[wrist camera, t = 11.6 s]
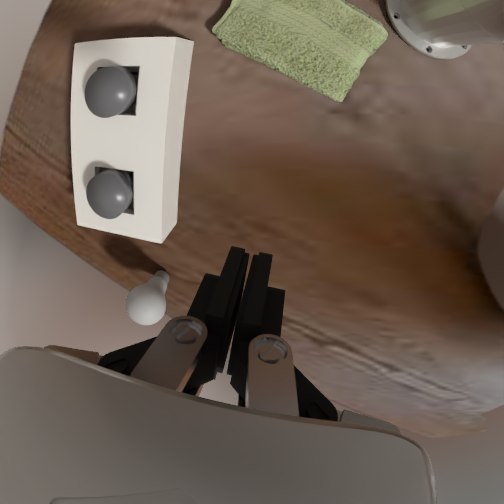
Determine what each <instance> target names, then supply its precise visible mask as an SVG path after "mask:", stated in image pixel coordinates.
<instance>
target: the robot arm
mask: <svg viewBox="0 0 504 504" xmlns="http://www.w3.org/2000/svg"><path fill="white" fill-rule="evenodd" d="M385 1H386V10H387V13H388V17H389V19H390V21H391V24H392V25H393V27H394V29H395V30H396V32H397V33H398V34H399V35H400V37H401V38H402V39H403V40H404V41H405V42H406V43H407V44H408V45H410V46H411V47H412V48H414V49H415V50H417V51H418V52H420V53H422V54H424V55H426V56H429V57H432V58H436V59H452V58H457V57H459V56H461V55H463V54H465V53H466V52H467V51H468V50H469V49H470V48H471V46H472V45H480V44H504V0H385ZM394 16H396V17H397V19H395V18H394ZM462 46H463V48H462ZM426 48H427V49H428V52H427V50H426ZM272 256H273V255H271V254H267V253H262V252H259V255H253V258H252V262H251V266H250V270H249V274H248V278H247V281H246V285H245V289H244V293H243V297H242V292H243V287H244V281H245V276H246V270H247V265H248V259H249V253H245V249H243V248H238V247H234V246H232V247H231V249H230V251H229V254H228V257H227V259H226V262H225V264H224V267H223V270H222V272H221V275H220V276H216V275H212V274H207V273H206V274H205V276H204V278H203V280H202V282H201V284H200V287H199V289H198V291H197V293H196V296H195V298H194V300H193V303H192V305H191V307H190V309H189V312H188V314H187V316H179V317H175V318H173V319H171V320H170V321H169V322H168V323H167V324H166V325H165V327H164V328H163V329H162V331H161V332H160V334H159V335H158V336H157V337H154V338H151V339H148V340H146V341H143V342H140V343H137V344H134V345H131V346H128V347H125V348H122V349H119V350H116V351H113V352H110V353H108V354H106V355H104V356H100V355H99V353H98V352H92V351H85V350H79V349H73V348H67V347H61V346H56V345H49V346H46V347H44V348H41V347H28V346H23V347H15V348H12V349H9V350H7V351H5V352H4V353H3V354H1V355H0V504H438V503H437V492H436V484H435V478H434V473H433V469H432V465H431V461H430V459H429V456H428V455H427V452H426V451H425V449H424V448H423V447H422V446H421V445H420V444H419V443H417V442H416V441H414V440H413V439H411V438H409V437H407V436H405V435H403V434H401V433H400V431H399V429H398V428H397V427H396V426H395V425H393V424H391V423H389V422H385V421H382V420H378V419H375V418H371V417H368V416H364V415H361V414H358V413H354V412H351V411H348V410H343V412H341V411H339V410H336V408H335V407H334V406H333V404H332V403H331V402H330V401H329V400H328V399H327V398H326V397H325V396H324V395H323V394H322V393H321V392H320V391H319V390H318V389H317V388H316V387H315V386H314V385H313V384H312V383H311V382H310V381H309V380H308V379H307V378H306V377H305V376H304V375H303V374H302V373H301V372H300V371H299V370H298V369H297V368H296V367H295V366H294V363H293V355H292V350H291V347H290V345H289V344H288V343H287V341H285V340H284V339H283V338H281V337H280V335H281V326H282V317H283V307H284V297H285V290H281V289H277V288H272V287H267V286H268V280H269V274H270V268H271V262H272ZM241 298H242V300H241ZM240 303H241V304H240ZM235 324H236V325H235ZM234 327H235V330H234ZM233 331H234V336H233V341H232V347H231V353H230V359H229V364H228V370H227V374H229V375H232V377H231V382H230V384H231V385H232V387H233V388H234V389H235V390H236V392H237V393H238V394H237V405H231V404H226V403H222V402H218V401H213V400H210V399H205V398H201V397H198V396H199V395H200V393H201V390H202V388H203V384H204V383H207V382H209V381H211V380H213V379H215V378H216V374H217V372H220V373H222V372H223V369H224V365H225V361H226V358H227V354H228V350H229V346H230V342H231V339H232V335H233Z"/></svg>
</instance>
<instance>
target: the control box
mask: <svg viewBox="0 0 504 504" xmlns="http://www.w3.org/2000/svg"><path fill="white" fill-rule="evenodd" d="M193 45H194V41H190V40H187V39H183V38H179V37H137V38H120V39H107V40H97V41H89V42H81V43H75V47H74V57H73V70H72V87H71V157H72V174H73V187H74V198H75V208H76V217H77V225H80V226H84V227H89V228H93V229H98V230H102V231H106V232H111V233H115V234H120V235H124V236H129V237H133V238H138V239H143V240H147V241H152V242H156V243H161V244H162V242H163V241H164V240H165V238H166V237H167V236H168V234H169V233H170V232H171V230H172V229H173V228H174V226H175V225H176V224H177V206H178V188H179V173H180V159H181V147H182V136H183V125H184V115H185V106H186V97H187V89H188V81H189V73H190V65H191V58H192V51H193ZM115 66H118V67H123V68H125V69H127V70H128V71H129V72H139V79H138V90H137V103H134V104H132V105H131V106H130V107H129V108H128V109H127V110H126V111H125V112H123V113H121V114H118V115H115V116H112V117H109V118H101V117H98V116H96V115H94V114H93V113H92V112H91V111H90V110H89V108H88V107H87V105H86V101H85V87H86V84H87V81H88V79H89V78H90V76H91V75H92V74H93V73H94V72H95V71H97V70H98V69H100V68H104V67H115ZM108 169H112V170H116V169H119V170H126V171H133V172H134V195H133V198H132V202H131V204H130V206H129V207H128V208H127V209H126V210H125V211H124V212H123V213H122V214H121V215H120V216H118V217H117V218H114V219H105V218H102V217H100V216H99V215H97V214H96V213H95V212H94V211H93V210H92V208H91V207H90V205H89V203H88V201H87V197H86V188H87V185H88V183H89V181H90V180H91V179H92V178H93V177H94V176H96V175H97V174H99V173H101V172H102V171H104V170H108Z"/></svg>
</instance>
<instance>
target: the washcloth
mask: <svg viewBox="0 0 504 504" xmlns="http://www.w3.org/2000/svg"><path fill="white" fill-rule="evenodd" d="M212 32H213V33H215V34H216V35H215V37H218V38H219V39H221V40H222V44H224V45H225V46H226V48H229V49H231V50H233V51H234V52H238V53H242V54H244V55H245V56H246V57H249V58H252V59H254V60H256V61H259V62H260V63H264V64H265V65H266V66H268V67H270V68H272V69H274V70H275V71H278V72H281V73H283V74H284V75H285V76H287V77H290V78H291V79H292V78H293V79H295V80H296V81H297V82H298V83H301V84H304V85H305V86H306V87H308V88H310V89H312V90H314V91H316V92H318V93H320V94H323V95H325V97H330V98H331V99H332V100H334V101H337V103H338V102H343V100H344V98H345V96H346V94H347V92H349V90H350V88H351V87H352V83H353V82H354V81H355V80H356V79H357V78H358V76H359V75H360V68H361V67H362V66H363V65H364V63H365V62H366V60H367V58H368V57H369V56H371V55H372V54H373V53H375V51H376V50H377V49H378V48H379V47H380V46H381V45H382V44H383V43H384V42H385V41H386V39H387V36H388V33H387V32H386V30H385V29H384V27H383V25H382V24H381V23H380V22H379V21H378V20H376V19H374V18H373V17H371V16H369V15H368V14H367V13H365V12H363V11H362V10H361V9H358V8H357V7H355V6H353V5H351V4H350V3H348V2H347V1H345V0H232V2H231V5H230V7H229V8H228V10H227V11H226V13H225V14H224V15H223V17H222V18H221V19H220V20H219V21H218V22H217V23H216V24H215V26H214V27H213V28H212Z"/></svg>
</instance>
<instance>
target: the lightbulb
mask: <svg viewBox="0 0 504 504" xmlns="http://www.w3.org/2000/svg"><path fill="white" fill-rule="evenodd" d="M168 282H169V275H168V274H167V273H166V272H165V271H161V270H160V271H157V272H156V273H155V275H154V276H153V277H151V278H150V279H149V281H148V282H146V283H145V284H141V285H138V286H136V287H134V288H133V289H132V290H131V291H130V292H129V294H128V296H127V299H126V310H127V312H128V315H129V316H130V318H131V319H132V320H134V321H135V322H137V323H138V324H141V325H151V324H154V323H156V322H158V321H159V320H160V319H161V318H162V317H163V315H164V313H165V309H166V301H165V291H166V289H167V284H168Z"/></svg>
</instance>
